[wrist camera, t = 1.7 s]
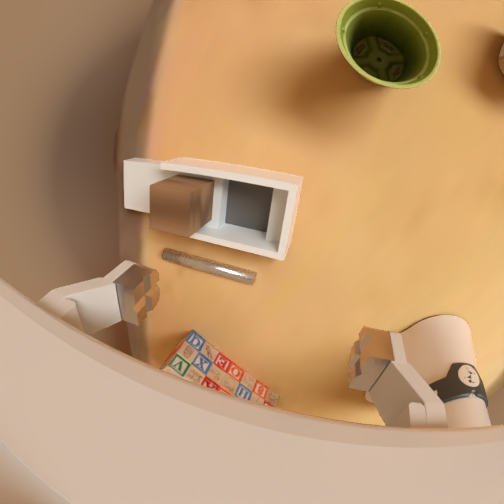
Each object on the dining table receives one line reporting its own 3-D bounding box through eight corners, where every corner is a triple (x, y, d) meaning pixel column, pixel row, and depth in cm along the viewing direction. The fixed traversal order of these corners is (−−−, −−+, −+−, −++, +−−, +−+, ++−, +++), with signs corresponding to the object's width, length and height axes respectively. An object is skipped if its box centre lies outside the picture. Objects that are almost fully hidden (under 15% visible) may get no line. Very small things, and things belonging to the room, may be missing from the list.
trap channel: (290, 243, 36) (283, 260, 31) (135, 207, 40) (113, 218, 36) (303, 176, 32) (297, 184, 27) (135, 152, 36) (111, 157, 32)
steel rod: (252, 278, 37) (252, 287, 38) (256, 269, 39) (256, 278, 40) (161, 252, 40) (163, 262, 41) (167, 245, 41) (169, 254, 43)
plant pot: (321, 69, 26) (316, 49, 18) (357, 11, 21) (362, -21, 13) (394, 114, 25) (414, 110, 18) (428, 55, 21) (455, 36, 13)
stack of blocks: (177, 342, 51) (144, 388, 40) (193, 328, 48) (158, 378, 37) (260, 405, 52) (242, 453, 42) (280, 396, 49) (264, 448, 39)
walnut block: (211, 219, 35) (188, 237, 29) (176, 212, 36) (150, 228, 30) (214, 180, 32) (190, 191, 27) (177, 174, 33) (149, 185, 28)
